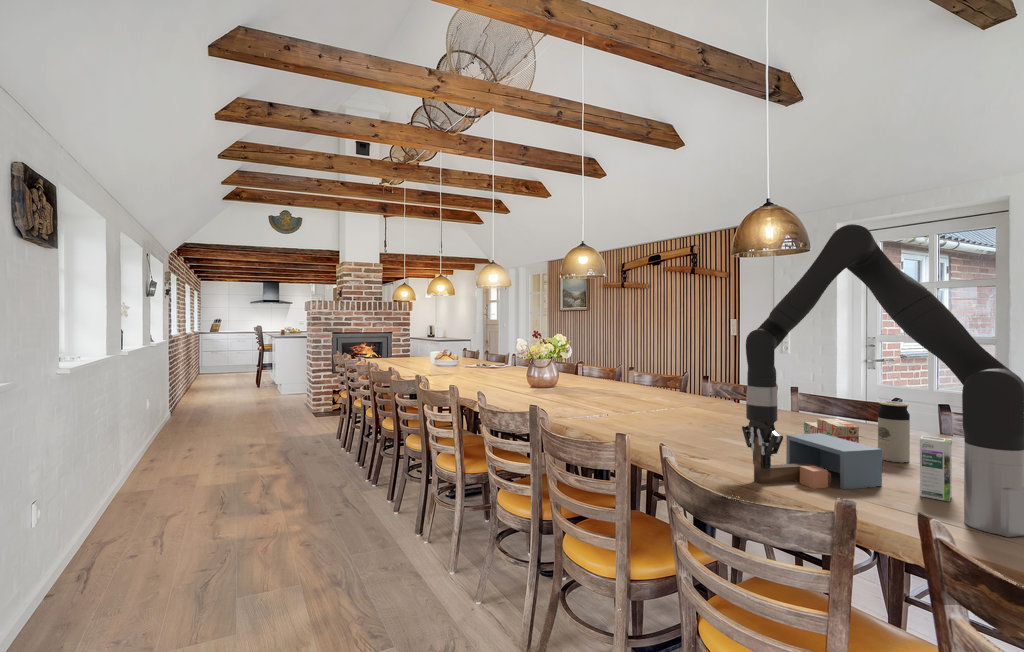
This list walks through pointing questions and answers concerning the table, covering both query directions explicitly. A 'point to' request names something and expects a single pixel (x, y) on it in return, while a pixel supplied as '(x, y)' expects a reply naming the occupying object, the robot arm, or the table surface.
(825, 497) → the table surface
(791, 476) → the bent wooden plank
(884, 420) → the travel mug
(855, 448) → the cubby
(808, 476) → the cube
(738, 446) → the table surface
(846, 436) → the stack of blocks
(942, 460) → the syrup box
